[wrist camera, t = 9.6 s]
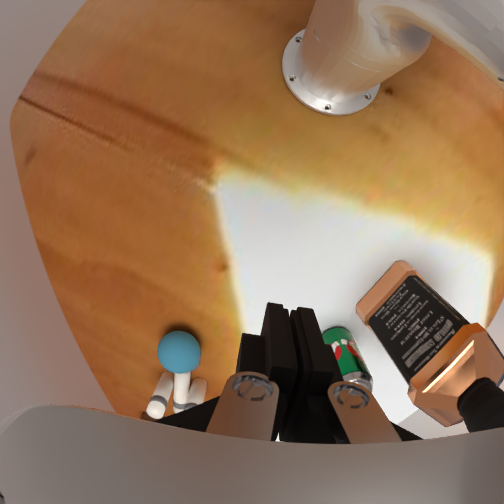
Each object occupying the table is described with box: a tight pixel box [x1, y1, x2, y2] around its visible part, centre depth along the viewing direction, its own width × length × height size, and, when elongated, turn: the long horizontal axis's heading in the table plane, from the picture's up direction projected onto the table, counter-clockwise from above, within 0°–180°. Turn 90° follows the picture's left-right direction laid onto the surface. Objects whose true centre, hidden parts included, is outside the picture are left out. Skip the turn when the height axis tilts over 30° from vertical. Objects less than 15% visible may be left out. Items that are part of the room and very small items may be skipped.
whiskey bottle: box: [356, 261, 504, 433], centre depth 27 cm, size 10×10×32 cm
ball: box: [157, 331, 201, 374], centre depth 42 cm, size 6×6×6 cm
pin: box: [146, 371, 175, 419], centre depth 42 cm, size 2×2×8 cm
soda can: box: [322, 328, 373, 393], centre depth 38 cm, size 5×5×12 cm
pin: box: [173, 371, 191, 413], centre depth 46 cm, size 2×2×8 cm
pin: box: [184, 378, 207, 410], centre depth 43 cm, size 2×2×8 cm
